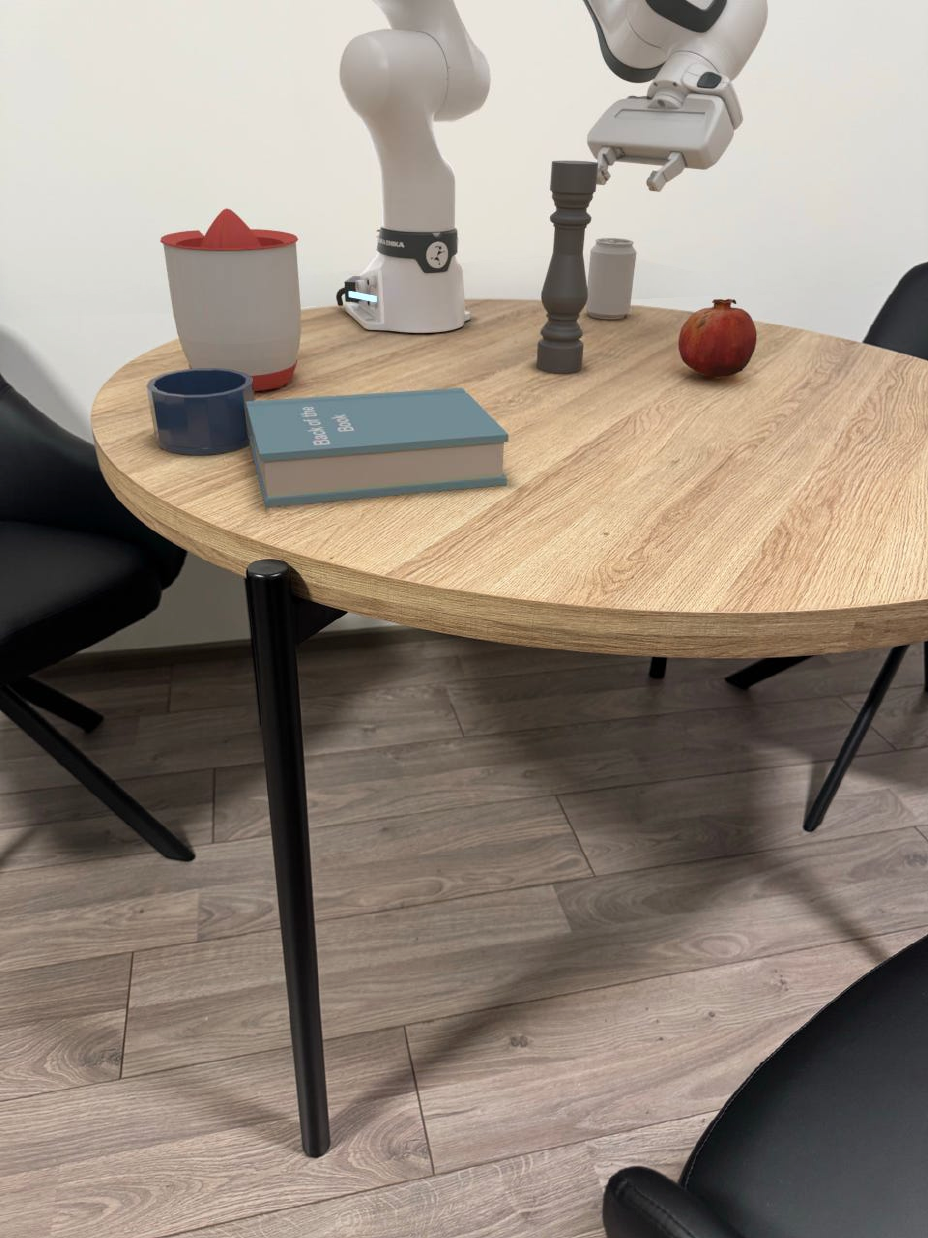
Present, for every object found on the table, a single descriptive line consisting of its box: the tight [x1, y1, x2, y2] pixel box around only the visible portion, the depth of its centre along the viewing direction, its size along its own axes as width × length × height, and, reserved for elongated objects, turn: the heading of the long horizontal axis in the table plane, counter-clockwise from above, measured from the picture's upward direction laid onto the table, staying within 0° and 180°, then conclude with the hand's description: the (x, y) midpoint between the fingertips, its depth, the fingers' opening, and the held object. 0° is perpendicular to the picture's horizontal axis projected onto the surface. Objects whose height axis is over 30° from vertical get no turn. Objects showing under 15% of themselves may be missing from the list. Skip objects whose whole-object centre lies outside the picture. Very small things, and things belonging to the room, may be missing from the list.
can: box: [584, 237, 637, 320], centre depth 146 cm, size 8×8×12 cm
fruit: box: [678, 298, 757, 378], centre depth 115 cm, size 11×10×10 cm
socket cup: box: [146, 368, 256, 456], centre depth 91 cm, size 10×10×6 cm
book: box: [246, 387, 510, 508], centre depth 86 cm, size 23×16×5 cm
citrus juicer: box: [159, 207, 302, 392], centre depth 106 cm, size 16×17×20 cm
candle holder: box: [535, 160, 598, 375], centre depth 113 cm, size 6×6×25 cm
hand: (623, 184), depth 114 cm, fingers open, 8 cm apart
